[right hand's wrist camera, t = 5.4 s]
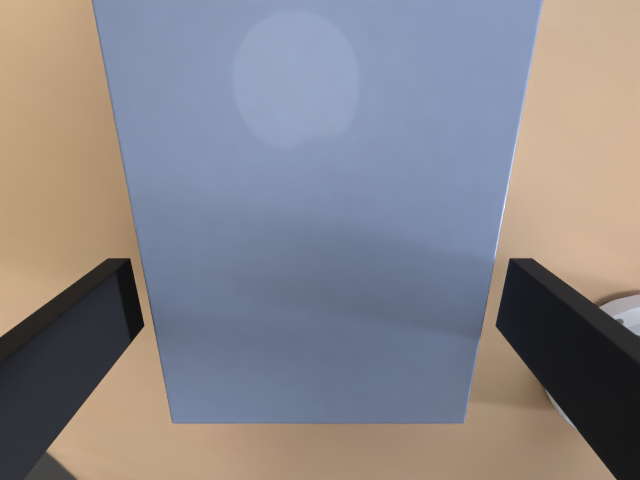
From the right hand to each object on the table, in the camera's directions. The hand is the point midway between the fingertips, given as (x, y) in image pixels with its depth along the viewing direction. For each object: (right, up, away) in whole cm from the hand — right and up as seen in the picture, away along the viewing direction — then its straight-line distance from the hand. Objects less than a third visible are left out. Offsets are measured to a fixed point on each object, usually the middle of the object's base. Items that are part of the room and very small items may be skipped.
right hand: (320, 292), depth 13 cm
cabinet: (0, +7, +5) cm, 9 cm away
